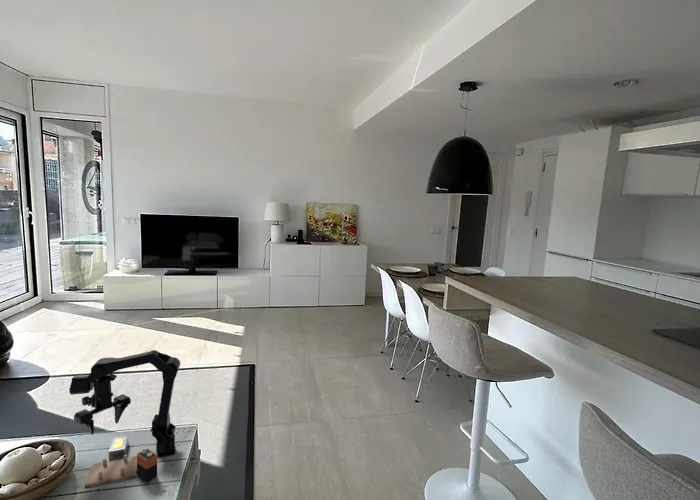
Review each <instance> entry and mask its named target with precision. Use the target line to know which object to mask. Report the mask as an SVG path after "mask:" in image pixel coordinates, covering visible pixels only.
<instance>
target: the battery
mask: <svg viewBox="0 0 700 500" xmlns="http://www.w3.org/2000/svg"><path fill="white" fill-rule="evenodd" d="M136 456H137V471H136V476H137V477H138V478H139V479H141V480H142V481H143V482H144V483H146V484H147V483H149V482H151V481H152V480H155V479H156V478H158V457H157V453H156V452H155V453H154V451H152V450H151V449H149V448H145V449H142V450H141V451H140V452H138V453H137V454H136Z"/></svg>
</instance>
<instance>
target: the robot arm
mask: <svg viewBox="0 0 700 500" xmlns="http://www.w3.org/2000/svg"><path fill="white" fill-rule="evenodd" d="M147 364H151V365H152V366H153V367H154V368H155V369H156V370H157V371H159V372H161V373H162V381H163V385H162V391H161V396H160V402H159V408H158V414H154V416H153V418H152V421H151V429H150V430H149V431H150V432H151V435H152V437H153V438H155V439H156V444H155V445H156V448H155V454H156V455H157V458H162V457H168V456H172V455H175V454H176V443H175V442H176V434H175V432H176V431H175V430H176V426H175V425H174V424H173V423H172V422H171V414H170V409H171V403H172V396H173V390H174V385H175V380H176V377H177V376H178V375H177V374H178V372H179V369H180V366H181V361H180V359H178V358H177V357H174V356H170V355H168V354H166V353H162V352H159V351H158V350H156V349H155V350H154V349H152V350H150V351H146V352H141V353H136V354H132V355H128V356H123V357H111V356H110V357H102V358H100V359H98V360H97V361H96V362H95V363H94V364H93V365H92V367H91V368H90V373H89V374H88V375H74V376H73V377H72V378H71V382H70V385H69V394H70V395H83V394H89V393H90V392H91V391H93V393H92V395H91V396H89V395H86V396H84V397H81V403H82V406H88V407H90V406H91V408H92V409H91V410H88V409H86V408H84V409H82V410H80V411H77V412H75V414H74V415H73V421H75V422H76V423H78V424H80V425H85V426H86V427H87V430H88V431H89V433H90V435H91V436H93V435H94V434H95V433H94V431H95V426H94V425H95V421H94V416H95V415H97V414H99V413H101V412H103V411H105V410H108V409H112V408H114V423H115V424H119V421H120V419H121V417H122V415H123V413H124V412H125V410H126V408H127V407H128V406H129V405H130V404H131V403H132V400H131V397H130V396H129V395H125V394H120V395H118V396H114V393H113V392H112V382H113V381H115V380H116V378H117V377H118V375H116V374H114V373H115V372H117V371H120V370H124V369H128V368H129V369H130V368H133V367H137V366H143V365H147ZM113 396H114V398H113ZM128 408H129V407H128Z"/></svg>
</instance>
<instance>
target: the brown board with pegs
mask: <svg viewBox="0 0 700 500" xmlns="http://www.w3.org/2000/svg"><path fill="white" fill-rule="evenodd" d="M136 476H137V455H135V456H130V457H128V454H126V455H124V458H121V459H115V460H110V461H109V460H107V458H103V459H102V462H96V463H92V464H91V466H90V469H89V472H88V474H87V477H86V480H85V483H84V488H88V487H94V486H98V485H104V484H109V483H110V484H111V483H114V482H115V483H116V482H118V481H119V482H120V481H125V480H130V479H133V478H134V479H135V478H136Z"/></svg>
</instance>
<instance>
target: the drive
mask: <svg viewBox="0 0 700 500" xmlns="http://www.w3.org/2000/svg"><path fill="white" fill-rule="evenodd" d="M128 446H129V435H123V436H117V437H116V436H115V437H113V438H112V441H111V444H110V447H109V450H108V461H112V460H118V459H123V458H124V455H127V450H128Z"/></svg>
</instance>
